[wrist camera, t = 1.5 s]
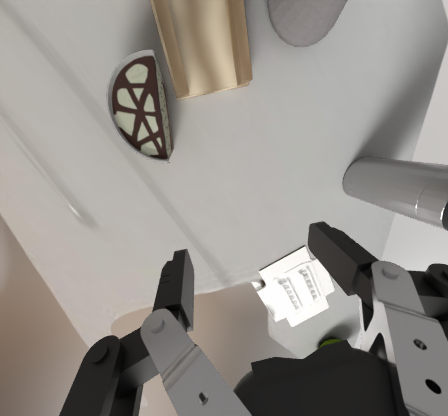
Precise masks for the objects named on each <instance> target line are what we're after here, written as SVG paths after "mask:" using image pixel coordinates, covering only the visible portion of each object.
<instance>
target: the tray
mask: <svg viewBox="0 0 448 416" xmlns="http://www.w3.org/2000/svg"><path fill="white" fill-rule="evenodd" d="M259 273H260V274H261V276H262V278H263V279H264V281H265V283H266V285H265V286H264V287H263V288H262V286H261V285H260V284H259V283H257V282H251V283H252V285H253V286H254V288H255V289H256V291H257V293H258V294H259V296H260V298H261V299H262V301H263V302H264V304H265V305H266V307H267V309H268V311H269V313H270V314H271V316H272V318H273V319H274V321H276V322H277V321H279V320H281V319H283V318H287V320H288V321H289V323H290V325H291V326H292V327H293V326H295V325H297V324H299V323H301V322H303V321H305V320H307V319H308V318H310V317H312V316H314V315H316V314H318V313H320V312H321V311H323V310H325V309H327V308H329V305H328V302H327V299H326V295H328V294H329V293H331V292H333V291H335V289H334V286H333V283H332V281H331V278H330V275H329V273H328V271H327V270H326V269H325V268H324V267H323V265H322V264H321V263H320V262H319V261H318V259H317V258H315V259H313V260H312V259H310V256H309V254H308V251H307V248H306V246H305V247H303V248H301V249H299V250H297V251H296V252H294V253H292V254H290V255H288V256H287V257H285V258H283V259H281V260H279V261H277V262H276V263H274V264H272V265H270V266H268V267H266V268H265V269H263V270H261V271H259ZM305 273H307V274H305ZM299 274H300V275H299ZM303 274H305V275H304V276H303ZM307 279H309V280H307ZM306 280H307V281H306ZM310 284H311V285H310ZM308 285H309V286H308ZM310 290H312V291H310ZM313 295H314V296H313ZM276 322H275V323H276Z"/></svg>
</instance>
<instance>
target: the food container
mask: <svg viewBox="0 0 448 416" xmlns="http://www.w3.org/2000/svg"><path fill="white" fill-rule="evenodd" d="M155 54H156V53H155V51H154V50H153V49H151V50H142V51H137V52H135V53H133V54H131V55H128V56H127V57H126V58H124V59H123V60H122V61H121V62H120V63H119V64H118V65H117V66H116V68H115V69H114V71H113V73H112V74H111V77H110V80H109V83H108V88H107V108H108V113H109V116H110V120H111V122H112V124H113V126H114V129H115V130H116V132H117V133H118V135H119V137H120V138H121V139H122V140H123V141H124V143H125V144H126V145H127V146H128V147H130V148H131V149H132V150H133V151H134V152H136V153H137V154H139V155H141V156H142V157H144V158H146V159H148V160H151V161H154V162H159V163H167V164H170V162H168V160H169V158H170V156H171V154H172V152H173V150H174V148H173V140H172V131H171V123H170V114H169V106H168V98H167V89H166V85H165V82H164V79H163V77H162V74H161V71H160V68H159V65H158V63H157V60H156V57H155Z"/></svg>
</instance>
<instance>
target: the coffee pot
mask: <svg viewBox="0 0 448 416" xmlns="http://www.w3.org/2000/svg"><path fill="white" fill-rule="evenodd" d="M346 2H347V0H268V10H269V16H270V20H271V23H272V25H273V28H274V30H275V31H276V33H277V34H278V36H279V37H280V38H281V39H282V40H283V41H285V42H286V43H287V44H290V45H292V46H295V47H307V46H310V45H312V44H315V43H317V42H318V41H320V40H321V39H322V38H324V37H325V36H326V35H327V33H328V32H329V31H330V30H331V28H332V27H333V26H334V24H335V22H336V20H337V19H338V17H339V15H340V13H341V11H342V9H343V7H344V6H345V4H346Z"/></svg>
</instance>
